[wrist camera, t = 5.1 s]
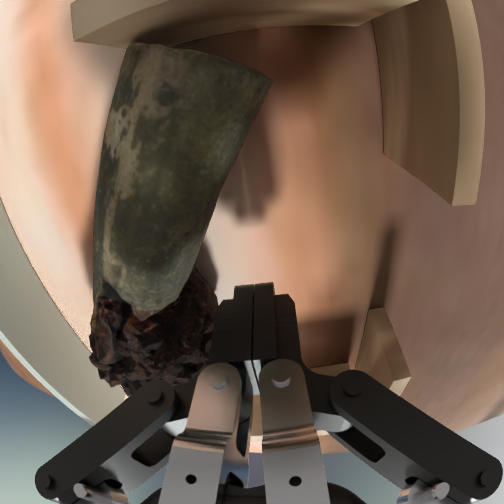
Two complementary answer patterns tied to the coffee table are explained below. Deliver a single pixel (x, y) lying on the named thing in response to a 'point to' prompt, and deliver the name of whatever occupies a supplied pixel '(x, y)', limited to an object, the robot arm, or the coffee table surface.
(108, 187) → the dark elongated piece
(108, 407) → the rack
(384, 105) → the socket block
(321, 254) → the coffee table surface
